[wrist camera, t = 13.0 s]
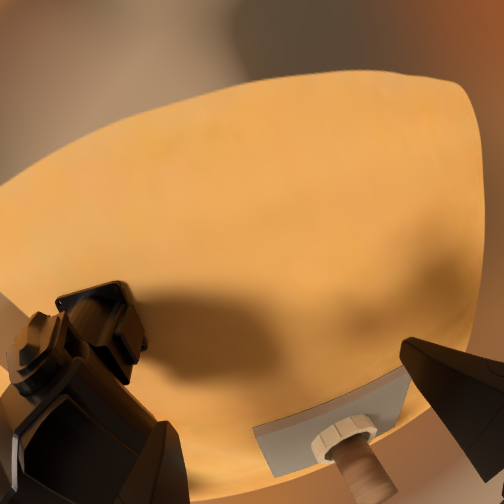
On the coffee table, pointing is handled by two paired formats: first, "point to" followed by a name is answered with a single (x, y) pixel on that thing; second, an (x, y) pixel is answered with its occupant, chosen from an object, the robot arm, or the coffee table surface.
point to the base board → (332, 424)
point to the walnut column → (362, 471)
